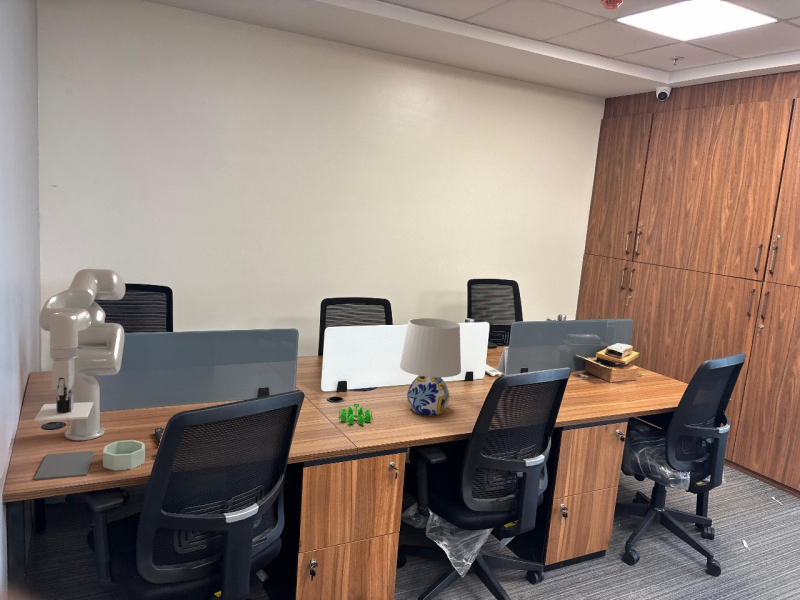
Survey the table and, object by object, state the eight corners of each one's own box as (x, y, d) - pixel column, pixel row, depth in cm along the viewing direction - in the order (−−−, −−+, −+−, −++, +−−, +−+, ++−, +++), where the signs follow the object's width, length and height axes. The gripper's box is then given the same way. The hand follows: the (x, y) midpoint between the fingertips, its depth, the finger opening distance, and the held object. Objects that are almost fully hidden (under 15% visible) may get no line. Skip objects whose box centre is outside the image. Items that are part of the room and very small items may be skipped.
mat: (46, 455, 193) (46, 454, 193) (94, 452, 198) (94, 450, 198) (34, 480, 176) (34, 478, 176) (86, 475, 181) (86, 474, 181)
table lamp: (412, 396, 281) (418, 314, 275) (465, 408, 270) (473, 323, 264) (386, 412, 257) (392, 322, 251) (444, 425, 246) (451, 332, 240)
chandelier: (378, 418, 250) (379, 402, 249) (366, 429, 236) (367, 413, 235) (345, 412, 254) (346, 396, 253) (331, 423, 240) (332, 407, 239)
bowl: (106, 456, 195) (106, 441, 195) (145, 453, 200) (145, 439, 199) (101, 471, 184) (101, 456, 184) (143, 468, 189) (143, 453, 188)
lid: (44, 406, 188) (43, 389, 187) (93, 403, 193) (92, 387, 192) (34, 421, 175) (33, 403, 174) (86, 418, 180) (86, 401, 179)
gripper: (55, 346, 188) (56, 401, 190) (44, 359, 172) (45, 419, 175) (82, 346, 190) (82, 400, 193) (73, 359, 175) (74, 418, 178)
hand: (65, 408), depth 184 cm, fingers closed on lid, 4 cm apart
